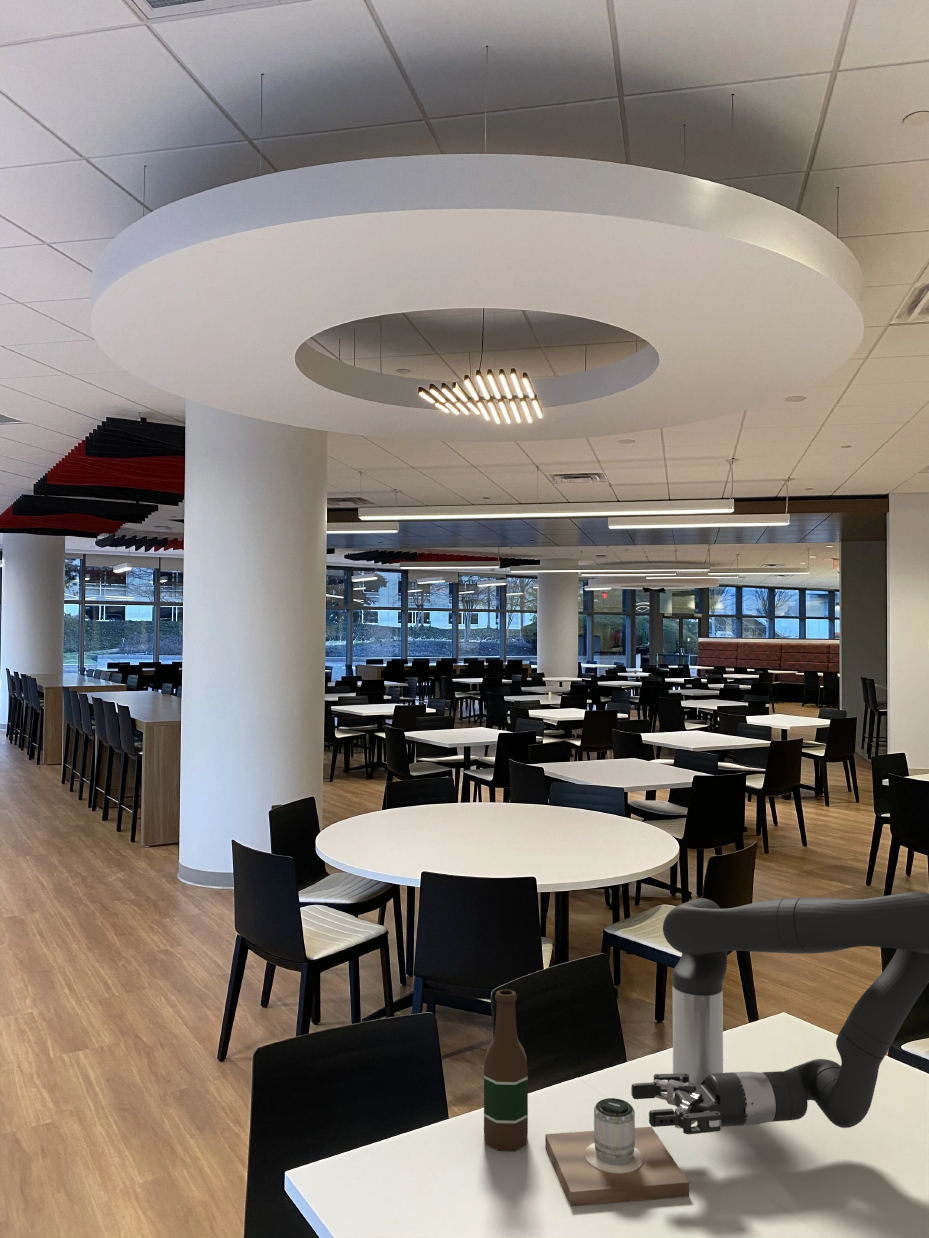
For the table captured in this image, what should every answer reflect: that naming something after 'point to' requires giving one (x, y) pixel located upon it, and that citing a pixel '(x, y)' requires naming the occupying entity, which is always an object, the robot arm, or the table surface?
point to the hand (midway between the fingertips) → (640, 1104)
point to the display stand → (614, 1170)
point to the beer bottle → (505, 1081)
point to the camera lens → (614, 1131)
